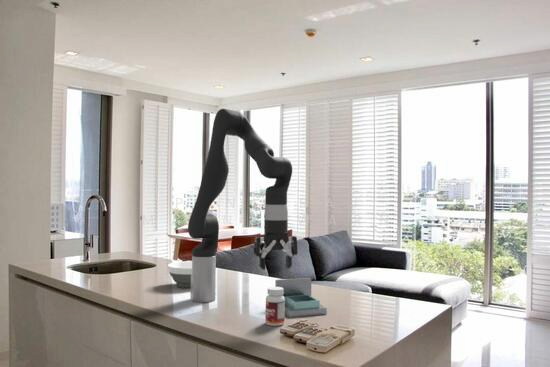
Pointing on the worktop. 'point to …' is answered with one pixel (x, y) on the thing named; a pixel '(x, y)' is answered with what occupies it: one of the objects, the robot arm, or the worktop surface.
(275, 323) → the pill bottle
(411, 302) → the worktop surface
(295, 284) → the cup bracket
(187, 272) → the bowl
